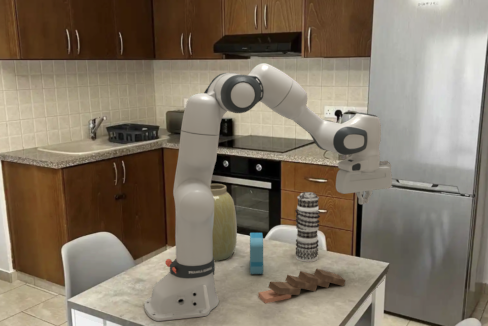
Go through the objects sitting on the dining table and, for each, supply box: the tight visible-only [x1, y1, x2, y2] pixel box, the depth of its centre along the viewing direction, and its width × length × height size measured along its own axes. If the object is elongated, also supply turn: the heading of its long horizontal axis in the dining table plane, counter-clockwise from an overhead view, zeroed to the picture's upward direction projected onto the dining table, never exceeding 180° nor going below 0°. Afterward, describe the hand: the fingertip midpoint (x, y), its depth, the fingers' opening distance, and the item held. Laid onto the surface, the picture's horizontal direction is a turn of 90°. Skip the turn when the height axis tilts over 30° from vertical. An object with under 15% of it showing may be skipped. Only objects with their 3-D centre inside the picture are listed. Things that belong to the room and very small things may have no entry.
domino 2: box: [267, 281, 302, 296], centre depth 155 cm, size 2×5×9 cm
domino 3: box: [284, 274, 318, 292], centre depth 159 cm, size 2×5×9 cm
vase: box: [210, 183, 238, 262], centre depth 188 cm, size 17×17×27 cm
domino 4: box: [297, 270, 330, 288], centre depth 162 cm, size 2×5×9 cm
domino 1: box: [257, 289, 292, 304], centre depth 155 cm, size 2×5×9 cm
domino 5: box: [313, 268, 346, 287], centre depth 163 cm, size 2×5×9 cm
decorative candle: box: [295, 191, 321, 263], centre depth 185 cm, size 9×9×25 cm
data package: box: [249, 232, 264, 275], centre depth 176 cm, size 12×4×12 cm, turn 0°
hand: (363, 203), depth 163 cm, fingers closed
